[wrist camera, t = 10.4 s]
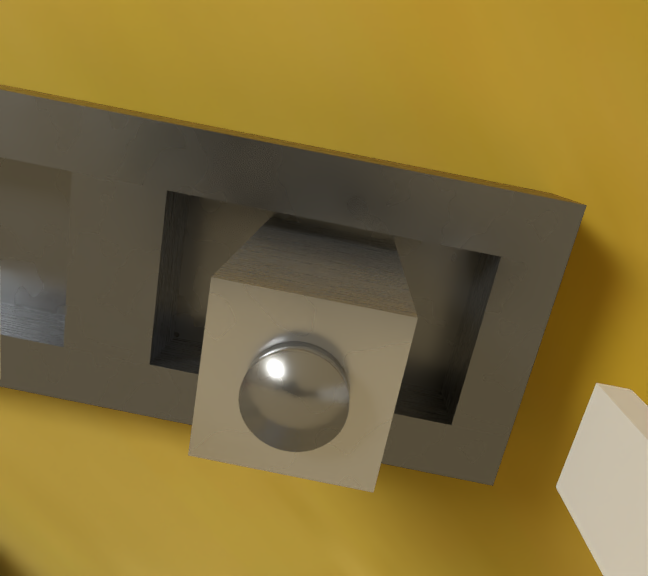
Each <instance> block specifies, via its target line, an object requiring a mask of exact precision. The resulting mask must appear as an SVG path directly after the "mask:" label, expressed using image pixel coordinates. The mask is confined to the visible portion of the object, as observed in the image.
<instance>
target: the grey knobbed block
mask: <svg viewBox="0 0 648 576" xmlns="http://www.w3.org/2000/svg"><path fill="white" fill-rule="evenodd" d="M417 320H418V317H417V313H416V310H415V307H414V304H413V300H412V297H411V294H410V291H409V287H408V284H407V281H406V278H405V274H404V271H403V268H402V265H401V261H400V258H399V255H398V252H397V248H396V245H395V242H393V241H388V240H383V239H378V238H373V237H368V236H362V235H357V234H352V233H347V232H342V231H337V230H332V229H327V228H322V227H317V226H312V225H307V224H302V223H296V222H291V221H286V220H281V219H276V218H270V219H269V220H268V221H267V222H266V223H265V224H264V225H263V226H262V227H261V228H260V229H259V230H258V231H257V232H256V233H255V234H254V235H253V236H252V237H251V238H250V239H249V240H248V241H247V242H246V243H245V244H244V245H243V246H242V247H241V248H240V249H239V250H238V251H237V252H236V253H235V254H234V255H233V256H232V257H231V258H230V259H229V260H228V261H227V262H226V263H225V264H224V265H223V266H222V267H221V268H220V269H219V270H218V271H217V272H216V273H215V274H214V275H213V276H212V277H211V283H210V291H209V299H208V306H207V314H206V322H205V330H204V337H203V345H202V353H201V361H200V368H199V376H198V384H197V392H196V399H195V407H194V415H193V423H192V430H191V438H190V446H189V453H188V455H189V456H194V457H199V458H204V459H209V460H214V461H219V462H224V463H229V464H234V465H239V466H244V467H249V468H254V469H259V470H264V471H269V472H274V473H279V474H284V475H289V476H294V477H299V478H304V479H309V480H314V481H319V482H324V483H329V484H334V485H339V486H344V487H349V488H354V489H359V490H364V491H369V492H374V489H375V485H376V481H377V477H378V473H379V469H380V465H381V461H382V457H383V453H384V449H385V445H386V441H387V437H388V434H389V430H390V426H391V422H392V418H393V414H394V410H395V406H396V402H397V398H398V394H399V390H400V386H401V382H402V379H403V375H404V371H405V367H406V363H407V359H408V355H409V351H410V347H411V343H412V339H413V335H414V331H415V327H416V324H417Z"/></svg>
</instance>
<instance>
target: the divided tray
mask: <svg viewBox="0 0 648 576" xmlns="http://www.w3.org/2000/svg"><path fill="white" fill-rule="evenodd" d="M585 208H586V205H584V204H581V203H578V202H575V201H572V200H569V199H567V198H564V197H561V196H558V195H555V194H552V193H547V192H542V191H537V190H532V189H527V188H521V187H516V186H511V185H506V184H501V183H496V182H491V181H486V180H481V179H476V178H471V177H466V176H461V175H456V174H451V173H446V172H440V171H435V170H430V169H425V168H420V167H415V166H410V165H405V164H400V163H395V162H390V161H385V160H380V159H375V158H370V157H365V156H359V155H354V154H349V153H344V152H339V151H334V150H329V149H324V148H319V147H314V146H309V145H304V144H299V143H294V142H289V141H284V140H278V139H273V138H268V137H263V136H258V135H253V134H248V133H243V132H238V131H233V130H228V129H223V128H218V127H213V126H208V125H203V124H197V123H192V122H187V121H182V120H177V119H172V118H167V117H162V116H157V115H152V114H147V113H142V112H137V111H132V110H127V109H122V108H116V107H111V106H106V105H101V104H96V103H91V102H86V101H81V100H76V99H71V98H66V97H61V96H56V95H51V94H46V93H41V92H35V91H30V90H25V89H20V88H15V87H10V86H5V85H0V349H1V379H0V386H1V387H6V388H11V389H16V390H21V391H26V392H31V393H36V394H41V395H45V396H50V397H55V398H60V399H65V400H70V401H75V402H80V403H85V404H90V405H95V406H100V407H105V408H110V409H115V410H120V411H125V412H130V413H135V414H140V415H145V416H150V417H155V418H160V419H165V420H170V421H175V422H180V423H185V424H189V425H192V423H193V415H194V407H195V399H196V392H197V384H198V376H199V368H200V361H201V353H202V345H203V337H204V330H205V322H206V314H207V306H208V299H209V291H210V283H211V277H212V276H213V275H214V274H215V273H216V272H217V271H218V270H219V269H220V268H221V267H222V266H223V265H224V264H225V263H226V262H227V261H228V260H229V259H230V258H231V257H232V256H233V255H234V254H235V253H236V252H237V251H238V250H239V249H240V248H241V247H242V246H243V245H244V244H245V243H246V242H247V241H248V240H249V239H250V238H251V237H252V236H253V235H254V234H255V233H256V232H257V231H258V230H259V229H260V228H261V227H262V226H263V225H264V224H265V223H266V222H267V221H268V220H269V219H270V218H276V219H281V220H286V221H291V222H296V223H302V224H307V225H312V226H317V227H322V228H327V229H332V230H337V231H342V232H347V233H352V234H357V235H362V236H368V237H373V238H378V239H383V240H388V241H393V242H395V245H396V248H397V252H398V255H399V258H400V261H401V265H402V268H403V271H404V274H405V278H406V281H407V284H408V287H409V291H410V294H411V297H412V300H413V304H414V307H415V310H416V313H417V317H418V320H417V324H416V327H415V331H414V335H413V339H412V343H411V347H410V351H409V355H408V359H407V363H406V367H405V371H404V375H403V379H402V382H401V386H400V390H399V394H398V398H397V402H396V406H395V410H394V414H393V418H392V422H391V426H390V430H389V434H388V437H387V441H386V445H385V449H384V453H383V457H382V461H381V463H383V464H388V465H393V466H398V467H403V468H408V469H413V470H418V471H423V472H428V473H433V474H438V475H443V476H448V477H453V478H458V479H463V480H468V481H473V482H478V483H482V484H487V485H492V486H493V484H494V481H495V478H496V475H497V472H498V469H499V466H500V463H501V460H502V457H503V454H504V451H505V448H506V445H507V442H508V439H509V436H510V433H511V430H512V427H513V424H514V421H515V418H516V415H517V412H518V409H519V406H520V403H521V400H522V397H523V394H524V391H525V388H526V385H527V382H528V379H529V376H530V373H531V370H532V367H533V364H534V361H535V358H536V355H537V352H538V349H539V346H540V343H541V340H542V337H543V334H544V331H545V328H546V325H547V322H548V319H549V316H550V313H551V310H552V307H553V304H554V301H555V298H556V295H557V292H558V289H559V286H560V283H561V280H562V277H563V274H564V271H565V268H566V265H567V262H568V259H569V256H570V253H571V250H572V247H573V244H574V241H575V238H576V235H577V232H578V229H579V226H580V223H581V220H582V217H583V214H584V211H585Z"/></svg>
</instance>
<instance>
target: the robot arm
mask: <svg viewBox="0 0 648 576" xmlns="http://www.w3.org/2000/svg"><path fill="white" fill-rule="evenodd" d="M0 379H1V349H0ZM556 488H557V490H558V492H559V494H560V496H561V498H562V500H563V501H564V503H565V505H566V507H567V509H568V511H569V513H570V514H571V516H572V518H573V520H574V522H575V524H576V526H577V527H578V529H579V531H580V533H581V535H582V537H583V539H584V540H585V542H586V544H587V546H588V548H589V550H590V552H591V553H592V555H593V557H594V559H595V561H596V563H597V565H598V566H599V568H600V570H601V572H602V574H603V576H648V406H647V405H646V404H645V403H644V402H643V401H642V400H641V399H640V398H639V397H638V396H637V395H636V394H635V393H634V392H633V391H632V390H631V389H626V388H621V387H615V386H610V385H605V384H600V383H596V385H595V388H594V390H593V393H592V395H591V398H590V400H589V403H588V406H587V408H586V411H585V413H584V416H583V418H582V421H581V424H580V426H579V429H578V431H577V434H576V436H575V439H574V441H573V444H572V447H571V449H570V452H569V454H568V457H567V459H566V462H565V465H564V467H563V470H562V472H561V475H560V477H559V480H558V482H557V485H556Z"/></svg>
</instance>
